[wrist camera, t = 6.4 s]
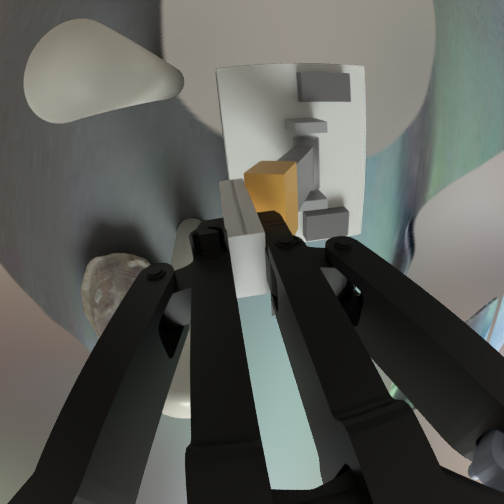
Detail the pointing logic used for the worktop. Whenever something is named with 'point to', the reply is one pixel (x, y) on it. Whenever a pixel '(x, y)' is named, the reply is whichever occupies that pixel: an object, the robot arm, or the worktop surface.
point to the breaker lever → (286, 180)
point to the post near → (93, 73)
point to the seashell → (108, 286)
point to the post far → (180, 385)
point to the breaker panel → (301, 133)
